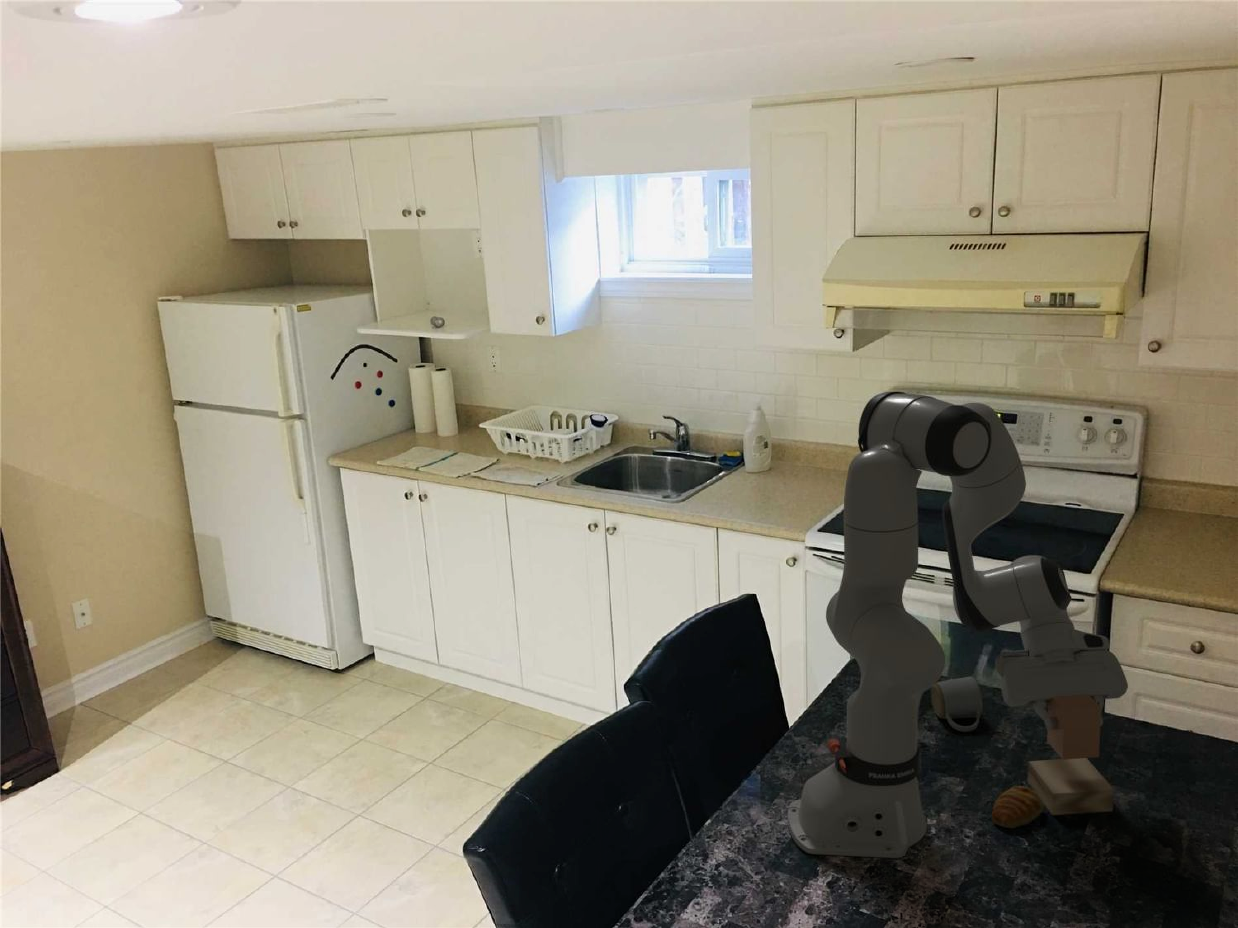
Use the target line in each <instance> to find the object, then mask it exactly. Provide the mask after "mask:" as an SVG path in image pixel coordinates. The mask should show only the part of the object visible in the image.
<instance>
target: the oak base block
mask: <svg viewBox="0 0 1238 928" xmlns="http://www.w3.org/2000/svg"><path fill="white" fill-rule="evenodd" d="M1027 765H1028V766H1027V767H1028V768H1027V769H1028V770H1027V783H1028V785H1029V786H1030V788H1031V789H1032V790H1034V791H1035V792H1036V793H1037V795H1038V797H1039V798H1040V800H1041V802H1042V804H1043V805H1044V807H1046V809H1047V810H1048V811H1049V813H1050V814H1051V815H1052V816H1061V815H1062V816H1063V815H1073V814H1074V815H1075V814H1089V813H1101V812H1102V813H1104V812H1113V811H1114V795H1115V789H1114V787H1112V786H1111V784H1110V783H1109V782H1108V781H1107V780H1106V778H1105V777H1104V776H1103V775H1102V774H1101V773H1100V772H1099V771H1098V769H1097V768H1096V766H1094V764H1092V762H1090V760H1089V758H1079V759H1066V760H1062V759H1061V758H1060V759H1059V758H1058V759H1047V760H1046V759H1043V760H1031V761H1028V764H1027Z"/></svg>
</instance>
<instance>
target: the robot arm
mask: <svg viewBox="0 0 1238 928" xmlns="http://www.w3.org/2000/svg"><path fill="white" fill-rule="evenodd" d="M857 444H858V448H859V451H860V453H858V454H857V455H855V457H853V459H852V460H851V461H850V463H849V465H848V470H847V474H846V481H845V486H844V500H843V555H844V557H843V559H844V562H843V572H842V576H841V577H842V578H841V582H840V585H839V587H838V590H837V591H836V593H834V594H833V596H832V597H831V598H830V600H829V601H828V604H827V607H826V610H825V620H826V624H827V626H828V628H829V630H830V632H831V634H832V635H833V637H834V639H835V641H836V642H837V644H838V645H839V646H840V647H842V648H843V650H845V651H846V652H847V653H848V654H849V655H850V657H852V658H853V659H854V660H856V662H857V664H858V666H859V669H860V670H859V671H860V683H859V687H858V689H857V690H856V691H854V692H852V693H851V695H850V696H849V698H848V699H847V703H846V740H845V742H844V743H843V744H842V745H840V742H839V740H838V739H836V738H830V739H829V740H828V742H827V744H826V746H827V748H828V750H829V753H830V754H831V755H833V756H834V762H833V763H831V764H830V765H828V766H826V768H824V769H823V770H821V771H820V772H818V773H817V774H815V775H813V776H811V777H810V778H808V780H806V782H805V783H804V786H803V788H802V793H801V797H800V799H796V800H793V801H792V802H791V803H790V804H789V805H788V806H789V807H788V809H787V815H786V816H787V817H786V823H787V827H788V830H789V832H790V835H791V837H792V839H793V841H794V842H795V844H796V845H797V846H798V847H799V848H800V849H801V850H803V851H804V852H806V853H807V854H810V855H825V856H826V855H827V856H829V855H830V856H844V857H845V856H848V857H867V858H886V859H887V858H889V859H900V858H903V857H904V856H905V855H906V853H907V852H908V850H909V848H910V847H912V846H913V845H915V844H917V842H920V840H922V838H923V837H925V835H926V832H927V830H928V826H927V825H928V824H927V821H926V818H925V815H924V812H923V806H922V803H921V796H920V795H921V794H920V789H919V787H920V786H919V781H920V778H921V777H920V776H921V771H922V769H921V766H922V762H921V750H920V747H919V746H918V728H919V727H918V726H919V708H920V703H921V700H922V697H923V694H924V692H926V691H928V690H930V689H931V688H932V686H933V685H934V684H935V683H938V682H939V680H940V678H941V676H942V675H943V672H944V669H945V665H946V654H945V652H944V651H945V650H944V649H943V647H942V645H941V644H940V642H939V641H938V639H937V637H936V636H935V634H933V632H932V631H931V630H930V628H929V627H928V626H927V625H925V624H924V623H923V622H921V621H920V620H919V619H918V618H916V617H915V616H914V615H912V614H910V612H908V611H907V610H906V608H905V606H904V603H903V594H904V589H905V585H906V582H907V581H908V580H909V579H911V578H912V577H914V575H915V574H916V572H917V571H918V569H919V567H918V566H919V509H918V508H919V507H918V496H917V486H918V483H919V480H920V477H921V475H922V474H923V471H924V472H930V473H935V474H938V475H940V476H944V477H949V478H950V482H951V486H952V491H951V495H950V497H949V499H948V500H946V501H945V502H944V503H943V505H942V511H941V512H942V513H941V514H942V516H941V518H942V526H943V533H944V534H943V535H944V541H945V546H946V550H947V556H948V562H949V568H950V574H951V578H952V602H953V608H954V611H955V614H956V616H957V618H958V619H959V621H960V623H961V624H962V625H963V626H965V627H967V628H969V629H970V630H973V631H976V632H979V633H983V632H986V631H990V630H993V629H996V628H999V627H1001V626H1005V625H1009V624H1012V623H1013V624H1014V623H1017V622H1018V623H1019V624H1020V638H1021V642H1022V645H1023V648H1024V649H1022V650H1021V649H1019V650H1015V651H1002V652H1000V654H998V655H997V656H996V657H995V658H994V665H995V669H996V673H997V674H998V675H999V676H1000V678H999V679H1000V689H1001V694H1002V698H1003V701H1004V703H1005V704H1006V705H1007V706H1008V707H1011V708H1012V707H1022V706H1023V707H1025V706H1032V707H1033V710H1034V712H1035V713H1036V714H1037V716H1039V718H1040V719H1041V720H1042V721H1044V725H1045V728H1046V730H1047V731H1048V730H1056V729H1057V728H1058V727H1059V726H1058V723H1057V718H1056V717H1051V716H1050V715H1049V713H1048V710H1046V707H1047V705H1048V704H1049V699H1052V698H1053V697H1061V696H1074V695H1086V694H1088V695H1089V696H1090V697H1091V698H1092V699H1093V700H1094V701H1095V702H1096V703H1097V704H1098V705H1099V706H1100V707H1101V713H1102V712H1103V709H1104V704H1105V700H1109V699H1110V700H1112V699H1120V698H1121V697H1123V696H1124V695H1125V694H1126V693H1127V690H1128V689H1129V683H1128V681H1127V677H1126V675H1125V672H1124V670H1123V667H1122V665H1121V663H1120V661H1119V659H1118V657H1117V656H1116V655H1115V653H1113V652H1111V651H1109V650H1108V649H1110V646H1111V644H1110V640H1109V638H1108V637H1106V636H1104V635H1101V634H1095V633H1089V632H1087V631H1082V630H1078V629H1076V628H1075V626H1074V625H1075V624H1074V623H1073V622H1072V619H1071V618H1070V617H1069V614H1068V607H1069V606H1070V603H1071V601H1072V599H1073V597H1072V596H1071V593H1070V589H1069V588H1068V584H1067V579H1066V575H1065V572H1064V569H1063V567H1062V566H1061V565H1059V564H1058V563H1055V561H1052V560H1050V559H1048V558H1046V557H1045V556H1043V555H1032V554H1031V555H1030V554H1029V555H1024V556H1021V557H1018V558H1016V559H1015V560H1013V561H1012V562H1010V563H1009V564H1007V565H1003V566H999V567H994V568H992V569H991V568H990V569H987V570H976V569H975V565H974V564H975V563H974V559H973V558H974V556H973V551H972V543H973V542H974V540H975V539H976V538H977V537H978V536H979V535H980V534H981V533H983V531H985V530H987V529H988V528H990V527H991V526H992V525H994V524H997V522H999V521H1001V520H1003V519H1004V518H1006V517H1008V515H1010V514H1011V513H1012V512H1013V511H1014V510H1015V509H1016V508H1017V506H1018V505H1019V504H1020V502H1021V501H1022V499H1023V497H1024V495H1025V492H1026V487H1027V481H1026V475H1025V471H1024V467H1023V463H1022V460H1021V457H1020V455H1019V451H1018V449H1017V447H1016V445H1015V442H1014V440H1013V438H1012V436H1011V435H1010V432H1009V431H1008V429H1007V427H1006V425H1005V423H1004V422H1003V421H1002V418H1001V417H1000V416H999V414H998V413H997V411H996V410H994V408H992V407H991V406H990V405H988V404H984V403H980V402H969V403H963V404H953V403H951V402H949V401H944V400H942V399H938V398H935V397H934V396H930V395H925V394H924V395H923V394H915V393H906V392H903V391H886V392H882V393H879V394H876V395H874V396H872V398H871V399H869V400H868V401H867V403H866V404H865V406H864V408H863V410H862V412H861V416H860V419H859V423H858V439H857ZM1103 725H1104V719H1103V716H1102V715H1101V724H1100V727H1101V726H1103Z"/></svg>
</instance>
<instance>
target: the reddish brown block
mask: <svg viewBox="0 0 1238 928" xmlns="http://www.w3.org/2000/svg"><path fill="white" fill-rule="evenodd" d="M1047 705H1048V710H1047V712H1048V713H1049V715H1050V716H1051V717H1056V718H1057V723H1058V726H1059V727H1058V728H1057V729H1056V730H1047V731H1046V732H1047V734H1046V735H1047V736H1046V742H1047V743H1048V744H1049V745H1050V746H1051V748H1052V749H1053V750H1054V752H1056V755H1058V756H1059V757H1060V759H1062V760H1066V759H1079V758H1087V759H1089V758H1099V757H1100V740H1101V739H1100V738H1101V737H1100V736H1101V726H1100V724H1101V716H1102V712H1101V707H1100V706H1099V705H1098V704H1097V703H1096V702H1095V701H1094V700H1093V699H1092V698H1091V697H1090V696H1089V695H1088V694H1086V695H1074V696H1061V697H1053V698H1052V699H1049V704H1047Z"/></svg>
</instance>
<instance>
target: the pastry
mask: <svg viewBox="0 0 1238 928" xmlns="http://www.w3.org/2000/svg"><path fill="white" fill-rule="evenodd" d="M1044 809H1045V805H1044V803H1043V802H1042V801H1041V799H1040V798H1039V796H1038V795H1037V793H1036V792H1035V791H1034V790H1033V788H1031V787H1028V786H1025V785H1017V784H1016V785H1014V786H1012V787H1009V789H1008V790H1006V791H1004V792H1002V793H1001V794H1000V795H999V797H997V798H996V799H995V801H994V803H993V810H992V812H991V816H992V817H991V818H992V821H993V824H995V825H998V826H1000V827H1003V828H1007V829H1011V830H1012V829H1016V828H1017V827H1021V826H1026V825H1029V824H1030V823H1031V822H1033V821H1034V820H1035V819H1037V818H1038V817H1040V814H1042V813H1043V811H1044Z"/></svg>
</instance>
